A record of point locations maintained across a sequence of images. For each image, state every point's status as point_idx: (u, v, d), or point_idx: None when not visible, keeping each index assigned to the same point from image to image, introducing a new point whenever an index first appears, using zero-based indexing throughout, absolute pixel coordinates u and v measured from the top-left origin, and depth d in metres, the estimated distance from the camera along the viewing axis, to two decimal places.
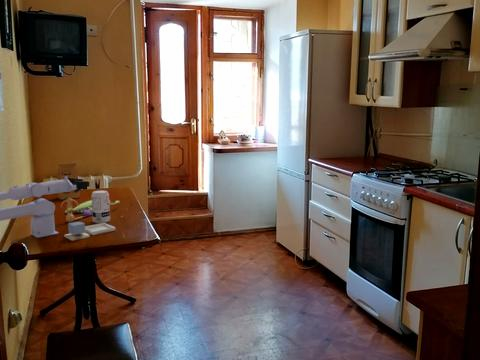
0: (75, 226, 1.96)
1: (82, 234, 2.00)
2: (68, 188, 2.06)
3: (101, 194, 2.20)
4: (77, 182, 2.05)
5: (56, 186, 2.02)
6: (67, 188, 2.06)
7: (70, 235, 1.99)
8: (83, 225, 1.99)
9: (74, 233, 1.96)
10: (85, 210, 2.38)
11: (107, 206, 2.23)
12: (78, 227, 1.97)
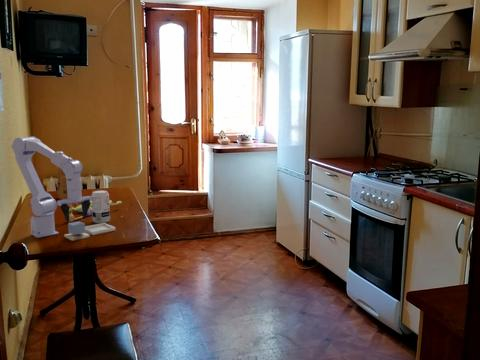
0: (75, 226, 1.96)
1: (82, 234, 2.00)
2: (67, 199, 1.96)
3: (101, 194, 2.20)
4: (63, 208, 1.92)
5: (71, 187, 1.94)
6: None
7: (70, 235, 1.99)
8: (83, 225, 1.99)
9: (74, 233, 1.96)
10: None
11: (107, 206, 2.23)
12: (78, 227, 1.97)
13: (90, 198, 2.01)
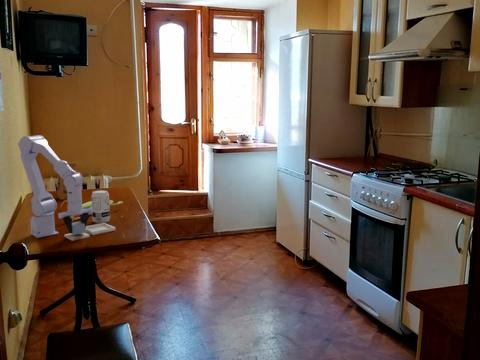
0: (75, 226, 1.96)
1: (82, 234, 2.00)
2: (68, 211, 1.97)
3: (101, 194, 2.20)
4: (66, 220, 1.94)
5: (72, 200, 1.94)
6: None
7: (70, 235, 1.99)
8: (83, 225, 1.99)
9: (74, 233, 1.96)
10: None
11: (107, 206, 2.23)
12: (78, 227, 1.97)
13: (91, 210, 2.02)
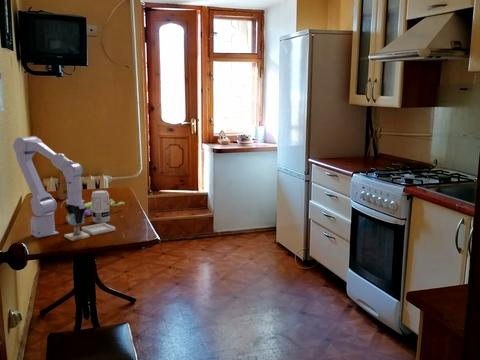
0: None
1: (82, 234, 2.00)
2: (75, 202, 1.95)
3: (101, 194, 2.20)
4: (84, 209, 1.96)
5: (71, 190, 1.94)
6: (75, 201, 1.95)
7: (70, 235, 1.99)
8: None
9: None
10: (85, 210, 2.38)
11: (107, 206, 2.23)
12: None
13: None
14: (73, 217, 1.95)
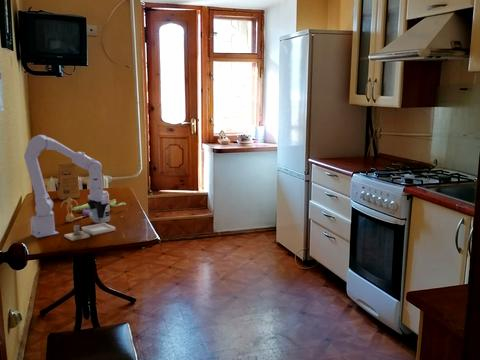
0: None
1: (82, 234, 2.00)
2: (97, 198, 2.05)
3: None
4: (105, 204, 2.06)
5: (97, 186, 2.04)
6: (97, 197, 2.05)
7: (70, 235, 1.99)
8: None
9: None
10: (85, 210, 2.39)
11: (107, 206, 2.23)
12: None
13: None
14: (95, 212, 2.05)
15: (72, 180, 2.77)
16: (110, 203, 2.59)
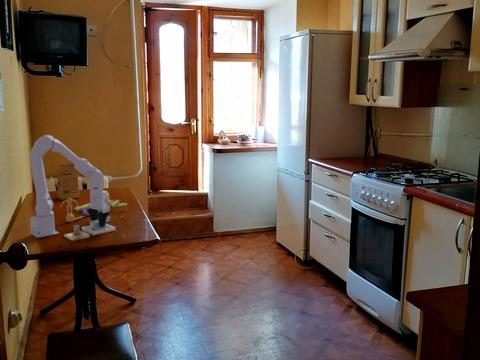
0: None
1: (82, 234, 2.00)
2: (97, 207, 2.05)
3: None
4: (107, 214, 2.06)
5: (97, 195, 2.05)
6: (97, 206, 2.05)
7: (70, 235, 1.99)
8: None
9: None
10: (85, 210, 2.39)
11: (107, 206, 2.23)
12: None
13: None
14: (96, 224, 2.06)
15: (72, 180, 2.77)
16: None
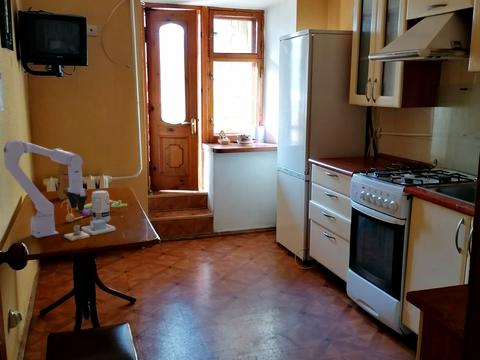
0: None
1: (82, 234, 2.00)
2: (76, 190, 2.07)
3: (101, 194, 2.20)
4: (85, 197, 2.07)
5: (78, 179, 2.07)
6: (76, 189, 2.07)
7: (70, 235, 1.99)
8: None
9: None
10: (84, 210, 2.39)
11: (107, 206, 2.23)
12: None
13: None
14: (96, 224, 2.06)
15: None
16: None
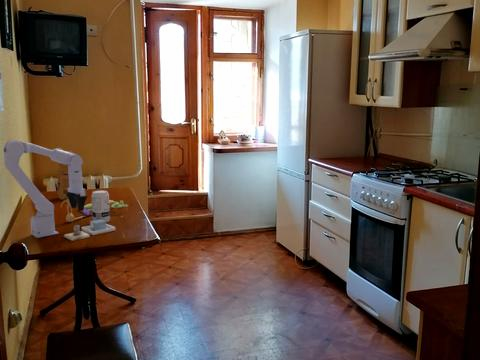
0: None
1: (82, 234, 2.00)
2: (76, 190, 2.07)
3: (101, 194, 2.20)
4: (85, 197, 2.07)
5: (78, 179, 2.07)
6: (76, 189, 2.07)
7: (70, 235, 1.99)
8: None
9: None
10: (85, 210, 2.39)
11: (107, 206, 2.23)
12: None
13: None
14: (96, 224, 2.06)
15: None
16: (118, 204, 2.57)
